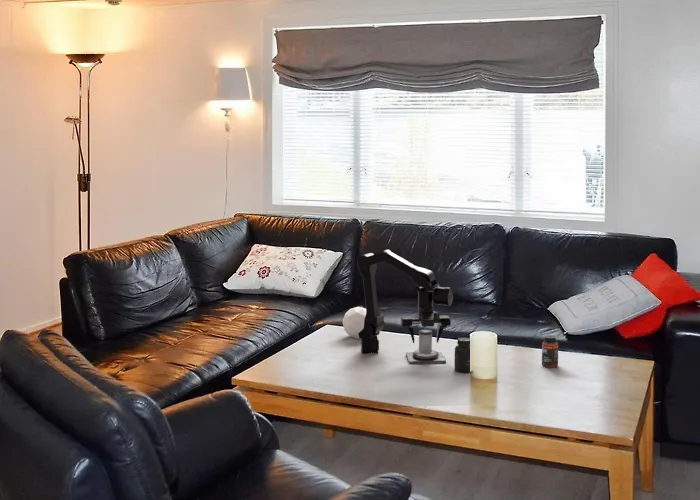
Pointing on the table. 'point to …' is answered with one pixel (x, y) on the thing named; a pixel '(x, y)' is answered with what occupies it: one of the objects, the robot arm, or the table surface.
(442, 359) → the base
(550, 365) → the supplement bottle
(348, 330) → the geodesic sphere
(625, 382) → the table surface
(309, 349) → the table surface
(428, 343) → the knob
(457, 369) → the supplement bottle
